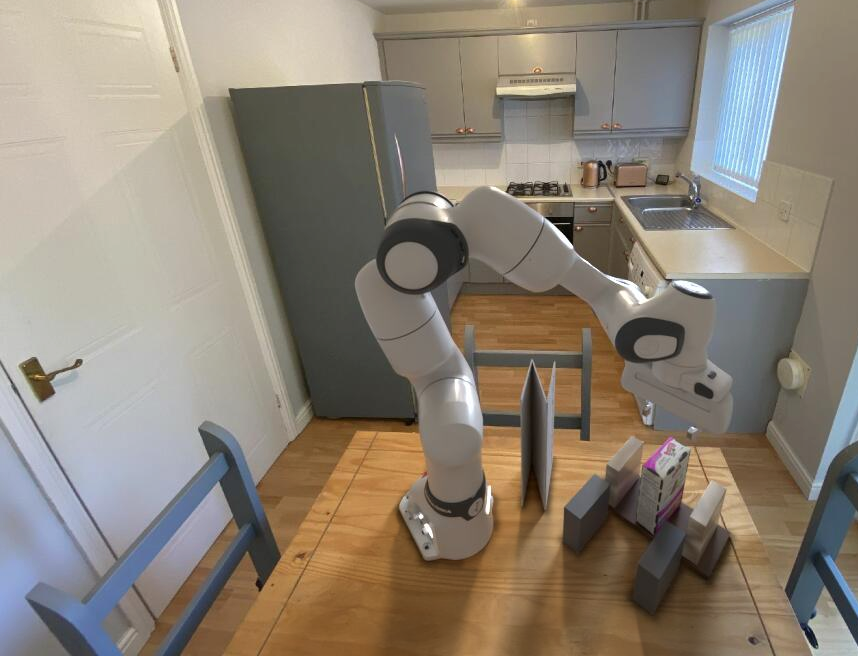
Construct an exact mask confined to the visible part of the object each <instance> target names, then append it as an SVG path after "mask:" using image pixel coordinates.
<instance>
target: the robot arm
mask: <svg viewBox="0 0 858 656" xmlns="http://www.w3.org/2000/svg"><path fill="white" fill-rule="evenodd" d="M469 259H475V260H478V261H480V262H482V263H483V264H485V265H487V266H488V267H490V268H491V269H492V270H494V271H495V272H497V273H498V274H499V275H501V276H502V277H503V278H505V279H506V280H508V281H510V282H511V283H512V284H515V285H516V286H518V287H521V288H523V289H525V290H527V291H529V292H532V293H543V292H547V291H549V290H552V289H554V288H555V287H557V286H558V285H560V286H562V287H563V288H565V289H566V290H567V291H569V292H571V293H572V294H573V295H575V296H577V297H578V298H580V299H581V300H583V301H584V302H586V303H587V304H588V305H589V306H590V308H591V311H592V313H593V315H594V317H595V318H596V319H597V321H598V323H599V324H600V325H601V327H602V329H603V330H604V332H605V334H606V335H607V337H608V339H609V340H610V343H611V344H612V346H613V348H614V349H615V351H616V353H617V354H618V355H619V356H620V357H621V358H622V359H623V360H624V363H625V365H624V368H623V370H622V374H621V378H620V385H621V387H622V389H623V390H624V391H627V392H629V393H631V394H632V395H635V399H636V401H637V404H638V406H639V408H640V409H639V414H640V415H642V416H644V417H646V418H648V416H650V414H651V412H652V411H651V410H652V406H651V405H649V404H648V402H649V403H651V404H653V405H656V406H658V407H659V408H661V409H662V410H665V411H667V412H669V413H671V414H674V415H675V416H678V418H679V417H680V418H682V419H683V420H685V421H687V422H690V423H692V424H693V425H694V427H693V426H690V427H689V429H688V430H687V431H686V436H685V438H686V439H687V440H689V441H691V442H693V443H695V441H696V440H697V438H698V435H700V434H701V433H703V431H704V430H706V431H708V432H709V433H711V434H713V435H716V436H722V435H724V434H725V433H726V432H727V431H728V429H729V427H730V426H731V422H732V418H733V411H734V397H733V395H732V393H731V392H730V390H731V388H732V385H733V382H734V380H733V377H732V376H731V375H730V374H728V373H727V372H726V371H724V370H722V369H721V368H720V367H718V366H717V365H716V364H715V363H714V362H712V361H711V360H709V359H708V346H709V344H710V343H711V341H712V339H713V335H714V330H715V324H716V315H717V303H716V298H715V297H714V295H713V294H712V293H711V292H709V291H708V289H706V288H704V287H703V286H702V285H699V284H696V283H694V282H690V281H686V280H673V281H671V282H669V284H668V285H667V286H666V288H665V289H664V290H663V289H662V291H661V292H659V293H657V294H655V295H654V296H652V297H650V298H647V297H646V296H645V293H643V291H642V290H641V289H640V287H639V286H638V285H637V284H636V283H634V282H632V281H630V280H627V279H624V278H618V277H614V276H611V275H608V274H606V273H604V272H602V271H601V270H599V269H598V268H597V267H596V266H594V264H592V263H590V262H589V261H587V260H586V259H585V258H583V257H582V256H581V255H579V254H578V253H577V252H576V250H575V248H574V246H573V244H572V243H571V242H570V240H569V239H568V238H567V237H566V236H565V235H564V234H563V233H562V232H561V231H560V230H559V229H558V228H557V227H556V226H555V225H554V224H553V223H552V222H551V221H550V220H549V219H547V218H546V217H544V216H543V215H542V214H541V213H539V212H538V211H537V210H535V209H533V208H532V207H531V206H529V205H528V204H527V203H525V202H523V201H522V200H520V199H518V198H516V197H515V196H513V195H511V194H510V193H507V192H506V191H503V190H502V189H500V188H497V187H495V186H492V185H482V186H479V187H476V188H475V189H473V190H471V191H470V192H468V193H467V194H466V195H465V196H464V197H463V199H462V200H461V201H460V202H459V203H458V204H456V205H455V204H454V203H453V201H452V200H451V199H450V198H448V197H447V196H446V195H444V194H443V193H441V192H438V191H435V190H429V189H428V190H427V189H426V190H419V191H416V192H413V193H411V194H409V195H407V196H406V197H405V198H403V199H402V201H401V202H400V203H399V204H398V206H397V207H396V208H395V209H394V210H393V211H392V213H391V214H390V215H389V217H388V219H387V220H386V224H385V226H384V228H383V231H382V232H381V234H380V235H379V237H378V240H377V242H376V247H375V258H374V259H372V260H370V261H368V262H366V264H364V265H363V266H362V267H361V269H360V270H359V271H358V273H357V274H356V277H355V280H354V288H355V289H354V290H355V292H356V295H357V299H358V302H359V305H360V308H361V310H362V313H363V316H364V318H365V320H366V323H367V324H368V326H369V328H370V330H371V333H372V335H373V336H374V338H375V340H376V341H377V343H378V345H379V347H380V348H381V350H382V353H383V354H384V355H385V358H386V359H387V361H388V363H389V364H390V366H391V368H392V369H393V370H392V371H394V372H395V373H396V374H397V375H399V376H400V377H404V378H406V379H407V381H409V382H410V383H411V385H412V387H413V389H414V392H415V396H416V400H417V410H418V411H417V415H418V417H417V418H418V419H417V420H418V435H419V440H420V444H421V449H422V453H423V456H424V461H425V469H426V470H424V471H423V472H422V473H421V475H420V476H419V477H418V478H416V480H414V482H413V483H412V484H411V486H410V487H409V489H408V491H407V492H406V493H405V495H404V496H403V497H402V499H401V500H400V502H399V504H398V510H399V512H400V514H401V517H402V519H403V520H404V522H405V525H406V526H407V528H408V530H409V532H410V534H411V536H412V538H413V540H414V542H415V544H416V546H417V548H418V550H419V552H420V554H421V556H422V558H423V559H424V560H425V561H426V562H427V561H429V562H431V561H435V560H439V559H445V560H453V561H458V560H465V559H467V558H471V557H473V556H475V555H477V554H478V553H479V552H480V551H482V550H483V549H484V548H485V547H486V546H487V545H488V543H489V541H490V540H491V537H492V535H493V532H494V524H495V522H494V516H493V507H494V503H495V502H494V496H493V495H492V494H491V485H488V481H487V477H486V474H485V470H484V468H483V454H482V448H483V447H482V446H483V440H484V438H483V437H484V418H483V413H482V408H481V404H480V400H479V395H478V391H477V387H476V382H475V379H474V378H475V377H474V374H473V371H472V369H471V367H470V365H469V363H468V362H467V360H466V358H465V356H464V355H463V353H462V352H461V350H460V348H459V347H458V346H457V345H456V342H455V341H454V340H453V337H452V335H451V333H450V330H449V329H448V326H447V324H446V323H445V320H444V318H443V316H442V313H441V312H440V310H439V307H438V305H437V303H436V301H435V299H434V297H433V295H432V293H431V292H432V291H434V290H435V289H437V288H438V287H441V286H442V285H443V284H444V283H445V282H446V281H448V280H449V279H450V278H451V277H453V276H454V275H456V274H457V273H459V272H461V271H462V270H463V269H465V268H466V267H467V265H468V262H469Z"/></svg>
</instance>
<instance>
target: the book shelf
mask: <svg viewBox="0 0 858 656" xmlns="http://www.w3.org/2000/svg"><path fill="white" fill-rule="evenodd" d="M644 443H645V442H644V441H643V440H641V439H638V438H637V437H635V436H633V435H632V436H629V438H628V439H627V440H626V441H625V443H624V444H623V445H622V446H621V447H620V449H618V451H617V452H615V454H614V455H613V456H612V457H611V458H610V459H609V461H608V462H607V463H606V466H605V476H604V480H605V481H607V482H609V483H610V484H611V486H610V496H609V506H608V512H611V513H612V514H613V515H614V516H616V517H617V518H619V519H620V520H622V521H623V522H625V523H626V524H627V525H628V526H630V527H631V528H633V529H634V530H636V531H637V532H638V533H640V534H641V535H643V536H644V537H645V538H647V539H648V540H650V541H651V542H652V540H653V539H654V537H655V536H656V535H653V534H652V533H651V532H649V531H648V530H647V529H646V528H645V527H643V526H642V525H641V524H639V523H638V522H637V521H636V515H637V507H638V498H639V490H640V481H641V475H640V474H641V473H640V472H641V467H642V457H643V450H644ZM726 494H727V488H726V487H725V486H723V485H721V484H719V483H717V482H715V481H714V480H710V482H709V484H708V486H707V487H706V489H705V490H704V492H703V493H702V496H701V497H700V499H699V500H698V502H697V504H696V505H695V507H694V508H692V507H690V506H689V505H687V504H685V503H684V502H681V505H680V506H679V507H678V508H677V510H676V511H675V512H674V513H673V514H672V516H671V517H670V518H669V519H668V520H667V521H668V522H669V523H671V524H672V525H674V526H675V527H677V528H678V529H680V530H681V531H683V532H684V533H686V537H685V542H684V546H683V551H682V556H681V560H680V563H682V564H683V565H685V566H686V567H688V568H689V569H690V570H692V571H693V572H695V573H696V574H698V575H699V576H700V577H702V578H703V579H704V580H706V581H709V580H710V579H711V576H712V574H713V572H714V570H715V568H716V566H717V563H718V561H719V559H720V557H721V556H722V553H723V551H724V549H725V547H726V545H727V544H728V543H727V542H728V540H729V539H730V536H731V534H732V533H731V531H729V530H728V529H726V528H725V527H723V526H721V525H720V524H719V521H720V518H721V513H722V509H723V506H724V501H725V498H726ZM657 533H658V532H657Z"/></svg>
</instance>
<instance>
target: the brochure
mask: <svg viewBox="0 0 858 656" xmlns="http://www.w3.org/2000/svg"><path fill="white" fill-rule="evenodd" d="M530 359H531V360H530V363H529V366H528V371H527V373H526V377H525V381H524V383H523V388H522V391H521V395H520V399H519V408H520V410H519V412H520V413H519V416H520V484H521V485H520V490H521V493H520V495H521V496H520V497H521V499H520V500H521V507H523V506H524V502H525V498H526V493H527V487H528V484H529V483H528V482H529V477H530V472H531V467H532V465H533V469H534V473H535V477H536V481H537V486H538V490H539V494H540V498H541V502H542V506H543V509H544V510H543V511H547V505H548V497H549V490H550V483H551V476H552V469H553V462H554V434H555V433H554V431H555V430H554V429H555V398H556V397H555V396H556V395H555V393H556V361H555V360H554V361H553V366H552V372H551V377H550V381H549V386H548V392H547V396H546V393H545V390H544V388H543V385H542V382H541V380H540V376H539V373H538V371H537V367H536V364H535V362H534V359H533V358H530Z"/></svg>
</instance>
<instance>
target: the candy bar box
mask: <svg viewBox="0 0 858 656" xmlns="http://www.w3.org/2000/svg"><path fill="white" fill-rule="evenodd" d="M691 452H692V449H691V448H690V447H689V446H687V445H685V444H683V443H682V442H681V441H677V439H676V438H674V437H671V436H670V437H669V438H667V440H666V441H665V442H664V443H663V444H662V445H661V446H660V447H659V448H658V449H656V451H655V452H654V453H653V454H652V455H651V456H649V458H647V460H646V461H644V462H643V463H642V464H641V473H640V477H641V481H640V490H639V498H638V507H637V515H636V521H637V522H638V523H639V524H641V525H642V526H643V527H645V528H646V529H647V530H648V531H649V532H651V533H652V534H653V535H656V534H657V532H658V531H659V530H660V528H661V527H662V525H663V523H664V522H665V520H666V521H667V520H668V519H669V518H670V517H671V516H672V514H673V513H674V512H675V511H676V510H677V508H678V507H679V506H680V505H681V502H682V501H683V497H684V490H685V484H686V480H687V473H688V469H689V468H688V467H689V462H690V458H691V457H690V456H691ZM682 503H683V502H682Z"/></svg>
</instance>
